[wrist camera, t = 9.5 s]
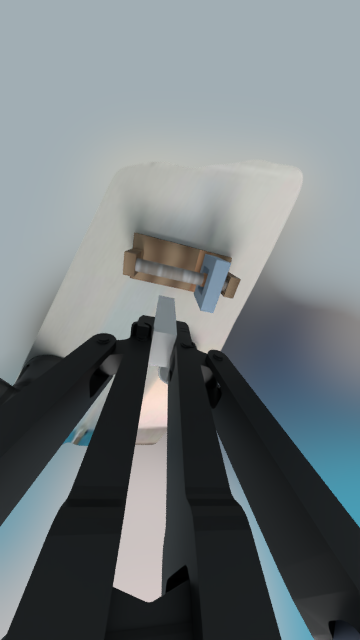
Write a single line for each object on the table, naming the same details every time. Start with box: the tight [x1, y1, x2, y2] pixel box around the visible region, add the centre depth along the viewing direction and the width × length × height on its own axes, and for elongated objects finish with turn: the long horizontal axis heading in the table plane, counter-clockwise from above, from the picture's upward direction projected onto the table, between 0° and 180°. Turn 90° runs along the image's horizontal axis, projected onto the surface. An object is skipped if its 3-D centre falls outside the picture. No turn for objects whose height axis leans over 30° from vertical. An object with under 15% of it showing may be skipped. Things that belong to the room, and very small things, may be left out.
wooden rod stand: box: [123, 233, 241, 298], centre depth 35 cm, size 23×10×10 cm, turn 77°
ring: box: [194, 254, 231, 313], centre depth 32 cm, size 2×9×10 cm, turn 167°
